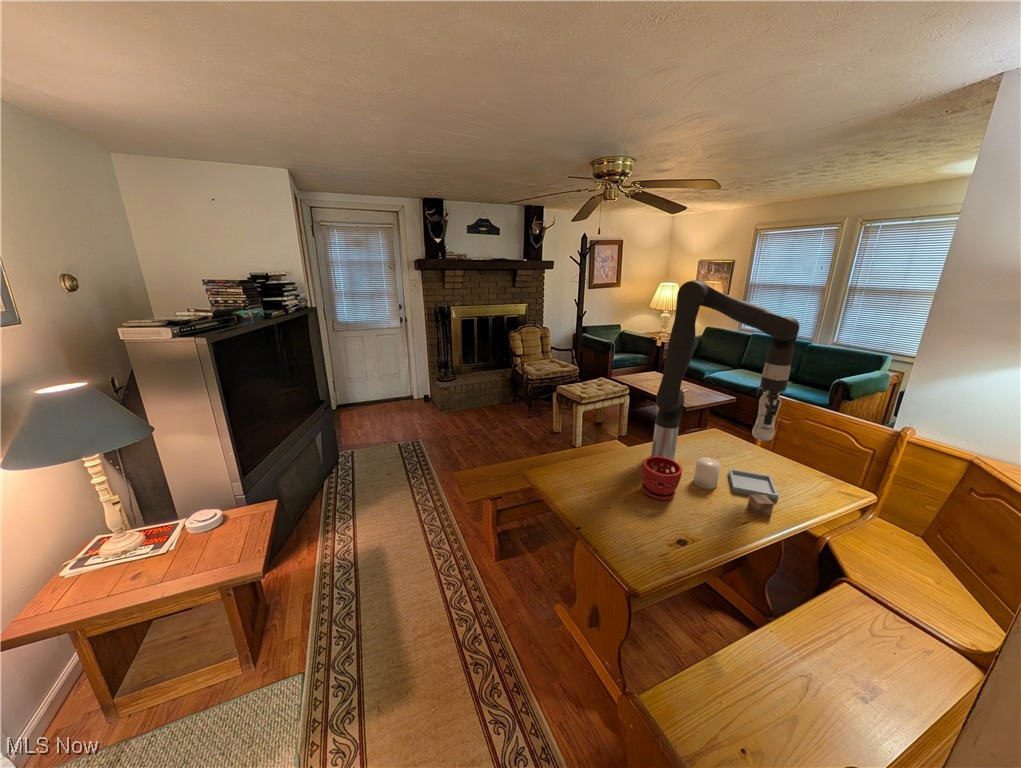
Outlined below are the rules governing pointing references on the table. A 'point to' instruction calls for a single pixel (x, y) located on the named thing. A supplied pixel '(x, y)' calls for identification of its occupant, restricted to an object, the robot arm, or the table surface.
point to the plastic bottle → (760, 428)
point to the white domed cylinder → (706, 473)
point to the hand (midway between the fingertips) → (765, 420)
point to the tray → (752, 484)
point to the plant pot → (660, 477)
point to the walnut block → (760, 505)
